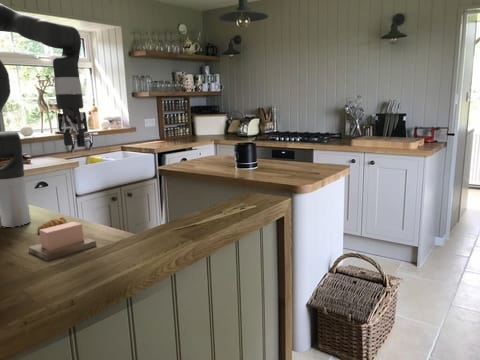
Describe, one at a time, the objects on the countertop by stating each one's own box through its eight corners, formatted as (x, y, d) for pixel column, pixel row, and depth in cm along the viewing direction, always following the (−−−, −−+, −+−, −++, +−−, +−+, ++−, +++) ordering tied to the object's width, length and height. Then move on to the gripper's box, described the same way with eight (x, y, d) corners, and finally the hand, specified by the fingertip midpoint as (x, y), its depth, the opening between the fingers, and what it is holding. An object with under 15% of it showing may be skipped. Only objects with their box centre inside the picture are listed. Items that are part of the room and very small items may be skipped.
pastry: (42, 236, 130) (41, 224, 130) (34, 233, 135) (32, 221, 134) (71, 229, 137) (69, 218, 137) (61, 226, 142) (60, 215, 141)
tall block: (75, 237, 121) (41, 247, 114) (73, 221, 120) (39, 229, 113) (83, 240, 118) (49, 250, 111) (81, 224, 117) (46, 232, 110)
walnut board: (29, 251, 115) (28, 246, 115) (76, 238, 125) (75, 234, 125) (47, 260, 107) (46, 255, 107) (96, 245, 117) (95, 240, 117)
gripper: (46, 94, 126) (52, 146, 129) (67, 92, 116) (73, 148, 119) (70, 94, 131) (75, 144, 134) (91, 92, 122) (97, 145, 125)
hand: (74, 146), depth 127 cm, fingers open, 8 cm apart
